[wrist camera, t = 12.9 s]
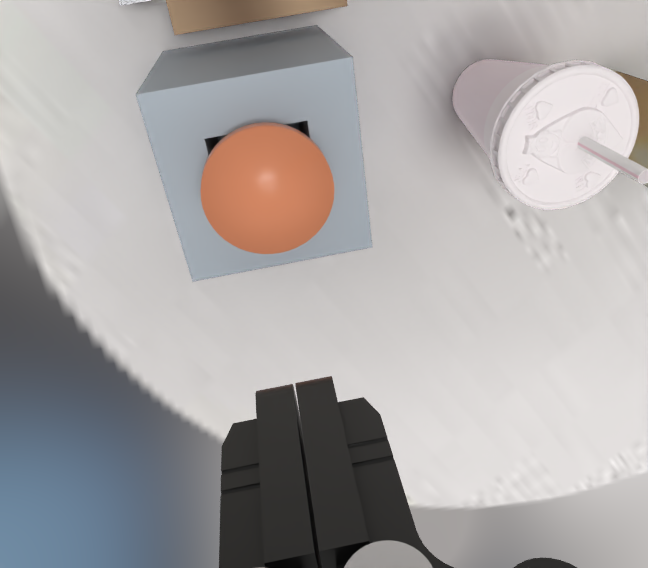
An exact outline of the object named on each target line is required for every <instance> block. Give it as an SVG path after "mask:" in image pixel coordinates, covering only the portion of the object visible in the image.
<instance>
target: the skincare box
mask: <svg viewBox="0 0 648 568" xmlns="http://www.w3.org/2000/svg"><path fill="white" fill-rule="evenodd" d="M605 68H606V67H605ZM607 69H609V68H607ZM610 70H612V69H610ZM612 71H614V72H616V73H617V74H619V75H620V76H621V77H623V78H624V79H625V80H626V81H627V83H628V84H629V85H630V87H631V88H632V90H633V92H634V94H635V96H636V100H637V103H638V108H639V128H638V134H637V138H636V141H635V144H634V147H633V149H632V152H631V154H630V156H629V158H628V159H630V160H632V161H634V162H636V163H638V164H640V165H641V166H643V167H645V168H647V169H648V81H646V80H642V79H639V78H636V77H633V76H631V75H627V74H624V73H621V72H618V71H615V70H612ZM643 185H645V186H647V187H648V183H646V184H643Z"/></svg>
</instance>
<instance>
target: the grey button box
mask: <svg viewBox="0 0 648 568" xmlns="http://www.w3.org/2000/svg"><path fill="white" fill-rule="evenodd" d="M136 97H137V100H138V104H139V107H140V110H141V114H142V117H143V120H144V123H145V127H146V130H147V133H148V137H149V140H150V143H151V146H152V150H153V153H154V156H155V159H156V163H157V166H158V169H159V173H160V176H161V179H162V182H163V186H164V189H165V192H166V196H167V199H168V202H169V205H170V209H171V212H172V215H173V218H174V222H175V225H176V228H177V232H178V235H179V238H180V241H181V245H182V248H183V251H184V255H185V258H186V261H187V264H188V268H189V271H190V274H191V277H192V281H199V280H204V279H209V278H214V277H220V276H225V275H230V274H235V273H240V272H246V271H251V270H256V269H261V268H267V267H272V266H277V265H282V264H287V263H293V262H298V261H303V260H308V259H314V258H319V257H324V256H329V255H334V254H340V253H345V252H350V251H355V250H361V249H366V248H371V247H372V239H371V229H370V219H369V210H368V200H367V191H366V181H365V171H364V162H363V152H362V143H361V133H360V123H359V114H358V104H357V95H356V85H355V75H354V66H353V57H352V56H351V55H350V54H349V53H348V52H346V51H345V50H344V49H343V48H342V47H341V46H340V45H339V44H337V43H336V42H335V41H334V40H333V39H332V38H331V37H330V36H328V35H327V34H326V33H325V32H324V31H323V30H322V29H321V28H319V27H318V26H317V25H315V26H309V27H303V28H297V29H291V30H285V31H279V32H274V33H268V34H262V35H256V36H250V37H244V38H238V39H232V40H226V41H221V42H215V43H209V44H203V45H197V46H191V47H185V48H179V49H174V50H168V51H163V52H162V54H161V55H160V57H159V59H158V60H157V62H156V63H155V65H154V67H153V68H152V70H151V71H150V73H149V74H148V76H147V78H146V79H145V81H144V82H143V84H142V85H141V87H140V89H139V90H138V92H137V93H136ZM261 122H273V123H279V124H284V125H285V124H286V125H287V126H290V127H293V128H295V129H297V130H299V131H301V132H302V133H304V134H305V135H307V136H308V137H309V138H310V139H312V140H313V141H314V143H315V144H316V145H317V146H318V147H319V148H320V150H321V151H322V153H323V155H324V157H325V158H326V160H327V163H328V165H329V167H330V170H331V173H332V176H333V181H334V201H333V206H332V209H331V212H330V215H329V217H328V218H327V220H326V222H325V224H324V225H323V227H322V228H321V229H320V230H319V231H318V233H317V234H316V235H315V236H313V237H312V238H311V239H310V240H309V241H307V242H306V243H304V244H303V245H301V246H299V247H297V248H295V249H292V250H289V251H286V252H282V253H276V254H258V253H252V252H248V251H245V250H242V249H239V248H237V247H235V246H233V245H232V244H230V243H229V242H227V241H225V240H224V239H223V238H222V237H221V236H220V235H219V234H218V233H217V232H216V231H215V230H214V229H213V227H212V226H211V224H210V223H209V221H208V219H207V217H206V215H205V213H204V210H203V207H202V202H201V192H200V190H201V179H202V173H203V169H204V165H205V163H206V160H207V158H208V156H209V154H210V152H211V151H212V150H213V148H214V147H215V146H216V144H217V143H218V142H219V141H220V140H221V139H222V138H224V137H225V136H226V135H228V134H229V133H231V132H232V131H234V130H236V129H238V128H240V127H243V126H245V125H249V124H253V123H261Z"/></svg>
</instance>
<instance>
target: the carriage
mask: <svg viewBox="0 0 648 568" xmlns="http://www.w3.org/2000/svg"><path fill="white" fill-rule="evenodd" d="M166 3H167V7H168V10H169V14H170V18H171V22H172V26H173V30H174V34H175V35H178V34H184V33H190V32H196V31H202V30H208V29H214V28H220V27H226V26H231V25H237V24H243V23H249V22H255V21H261V20H267V19H273V18H279V17H285V16H291V15H297V14H303V13H308V12H314V11H320V10H326V9H332V8H338V7H344V6H347V0H166Z"/></svg>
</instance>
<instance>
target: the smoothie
mask: <svg viewBox="0 0 648 568" xmlns="http://www.w3.org/2000/svg"><path fill="white" fill-rule="evenodd" d="M452 102H453V107H454V110H455V112H456V114H457V115H458V117H459V118H460V119H461V121H462V122H463V123H464V125H465V126H466V128H467V129H468V130H469V132H470V133H471V134H472V136H473V137H474V138H475V140H476V141H477V143H478V144H479V145H480V147H481V148H482V149H483V151H484V152H485V153H486V155H487V156H488V157H489V159H490V163H491V167H492V170H493V174H494V176H495V178H496V179H497V181H498V182H499V184H500V185H501V187H502V188H503V190H505V191H506V192H507V193H509V194H510V195H511V196H513V197H514V198H515V199H518V200H519V201H520V202H522V203H524V204H525V205H528V206H530V207H533V208H537V209H542V210H557V209H564V208H568V207H571V206H574V205H577V204H579V203H582V202H584V201H586V200H588V199H589V198H591V197H593V196H594V195H596V194H597V193H598V192H600V191H601V190H602V189H604V188H605V187H606V186H607V185H608V184H609V183H610V182H611V181H612V180H613V179H614V178H615V177H616V176H617V174H618V173H619V172H621V173H623V174H625V175H626V176H628V177H630V178H631V179H633V180H635V181H637V182H638V183H640V184H646V183H648V169H647V168H645V167H643V166H641V165H640V164H638V163H636V162H634V161H632V160H630V159H628V158H629V156H630V154H631V152H632V149H633V147H634V144H635V141H636V138H637V134H638V128H639V108H638V103H637V100H636V96H635V94H634V92H633V90H632V88H631V87H630V85H629V84H628V83H627V81H626V80H625V79H624V78H623V77H621V76H620V75H619V74H617V73H616V72H614V71H612V70H610V69H607V68H605V67H603V66H601V65H599V64H597V63H594V62H592V61H582V60H570V61H565V62H560V63H554V64H552V65H546V64H536V63H526V62H515V61H505V60H495V59H484V60H480V61H477V62H475V63H473V64H471V65H470V66H468V67H467V68H466V69H465V70H464V71H463V72H462V73H461V75H460V76H459V78H458V79H457V81H456V83H455V86H454V89H453V95H452Z"/></svg>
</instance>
